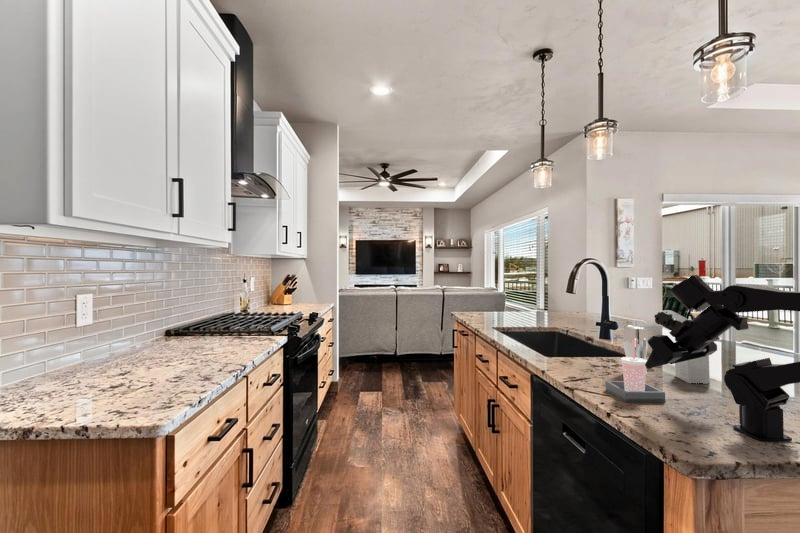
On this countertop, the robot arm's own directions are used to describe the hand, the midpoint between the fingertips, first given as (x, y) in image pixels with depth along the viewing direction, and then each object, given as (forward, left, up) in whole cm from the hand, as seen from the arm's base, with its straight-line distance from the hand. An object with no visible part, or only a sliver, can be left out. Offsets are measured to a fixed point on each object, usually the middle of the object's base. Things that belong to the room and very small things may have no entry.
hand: (658, 364), depth 97 cm
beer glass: (+28, -10, -10) cm, 31 cm away
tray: (+6, +3, -10) cm, 12 cm away
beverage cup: (+6, +3, -9) cm, 11 cm away
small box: (+20, -22, -10) cm, 31 cm away
